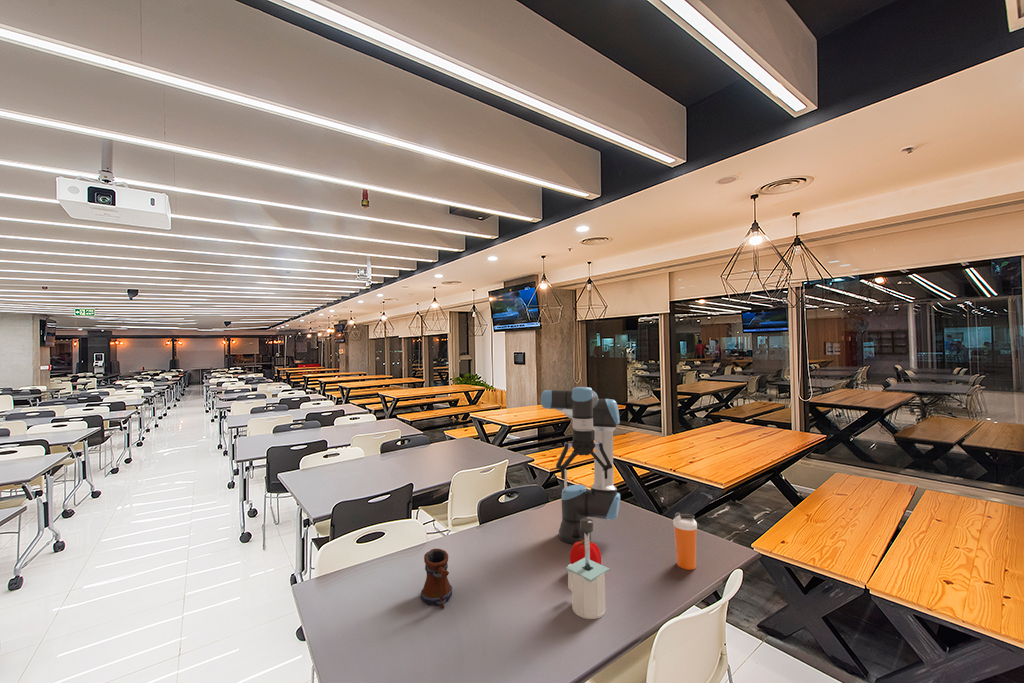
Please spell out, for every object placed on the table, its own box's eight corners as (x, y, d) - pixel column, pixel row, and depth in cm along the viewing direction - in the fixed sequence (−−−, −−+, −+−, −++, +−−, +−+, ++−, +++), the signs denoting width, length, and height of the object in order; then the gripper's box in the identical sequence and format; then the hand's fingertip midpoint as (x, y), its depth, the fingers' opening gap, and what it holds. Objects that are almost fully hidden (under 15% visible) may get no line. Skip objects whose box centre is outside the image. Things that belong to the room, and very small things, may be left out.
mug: (462, 611, 135) (462, 565, 136) (428, 621, 130) (428, 573, 131) (447, 584, 151) (447, 543, 152) (417, 592, 146) (416, 550, 147)
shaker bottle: (701, 572, 156) (699, 519, 157) (676, 570, 158) (675, 518, 159) (695, 560, 165) (693, 511, 166) (672, 558, 167) (670, 510, 168)
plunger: (571, 576, 136) (570, 520, 137) (586, 568, 141) (584, 514, 142) (589, 585, 130) (588, 527, 131) (604, 576, 135) (602, 521, 136)
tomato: (605, 582, 151) (604, 546, 151) (573, 584, 150) (572, 547, 150) (597, 566, 162) (596, 532, 163) (567, 567, 161) (566, 534, 162)
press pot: (559, 604, 138) (558, 564, 138) (580, 591, 145) (579, 553, 145) (591, 624, 127) (590, 580, 128) (612, 609, 134) (611, 568, 135)
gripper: (549, 431, 145) (550, 491, 144) (619, 430, 144) (621, 491, 143) (548, 427, 152) (549, 484, 151) (614, 427, 151) (616, 484, 150)
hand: (584, 488), depth 147 cm, fingers open, 13 cm apart
